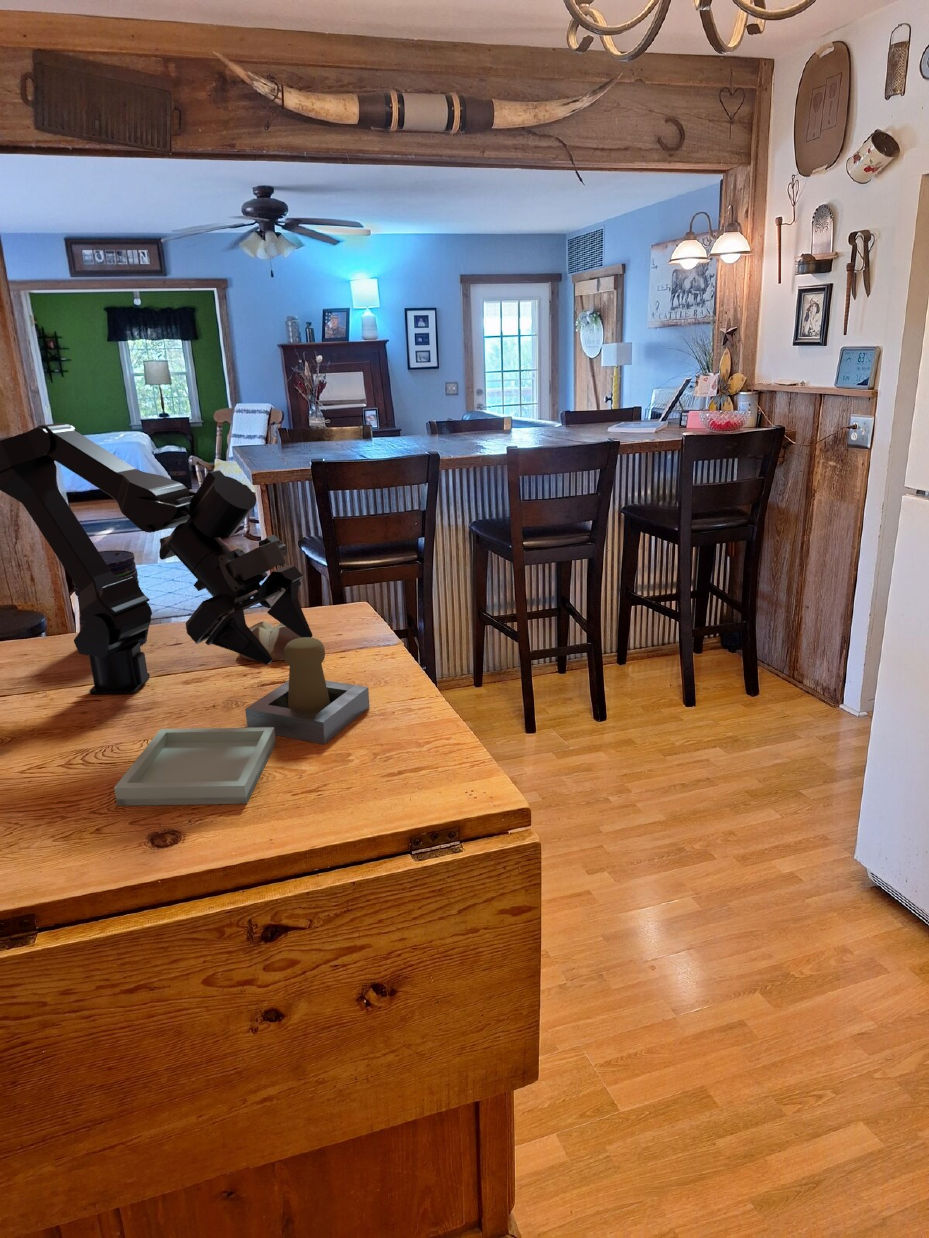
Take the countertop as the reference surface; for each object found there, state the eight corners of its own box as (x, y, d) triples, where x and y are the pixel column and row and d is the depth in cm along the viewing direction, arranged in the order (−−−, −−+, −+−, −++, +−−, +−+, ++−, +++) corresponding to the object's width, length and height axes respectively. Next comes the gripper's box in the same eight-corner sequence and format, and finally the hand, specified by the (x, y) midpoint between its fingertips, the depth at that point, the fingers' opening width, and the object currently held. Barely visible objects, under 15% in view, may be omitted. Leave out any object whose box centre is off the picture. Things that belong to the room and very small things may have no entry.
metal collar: (247, 729, 104) (245, 708, 103) (297, 695, 114) (295, 675, 113) (324, 744, 100) (323, 722, 99) (369, 707, 110) (368, 686, 109)
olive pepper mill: (289, 709, 110) (282, 633, 106) (334, 707, 110) (329, 631, 107) (284, 729, 104) (276, 649, 100) (331, 727, 104) (325, 647, 101)
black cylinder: (108, 658, 129) (93, 568, 125) (71, 648, 134) (55, 560, 130) (160, 640, 137) (147, 554, 133) (123, 630, 142) (110, 547, 138)
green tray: (117, 805, 87) (114, 787, 87) (163, 745, 101) (160, 728, 100) (246, 803, 87) (244, 785, 86) (275, 743, 100) (274, 727, 100)
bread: (304, 663, 126) (302, 633, 125) (232, 664, 127) (228, 634, 125) (318, 639, 137) (316, 611, 135) (251, 640, 137) (248, 612, 136)
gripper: (192, 536, 93) (282, 636, 93) (284, 506, 110) (362, 591, 109) (148, 595, 99) (233, 690, 98) (243, 559, 115) (316, 640, 114)
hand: (290, 649), depth 105 cm, fingers open, 9 cm apart
